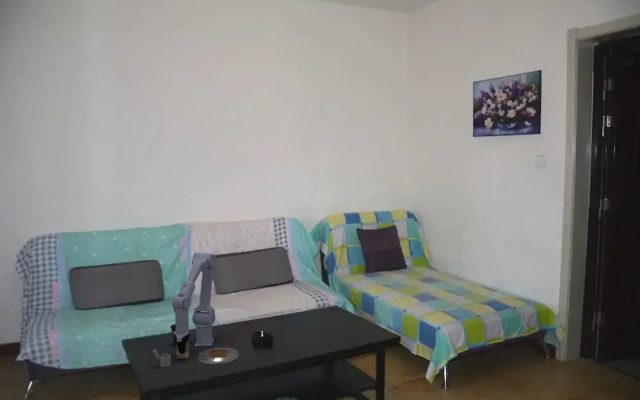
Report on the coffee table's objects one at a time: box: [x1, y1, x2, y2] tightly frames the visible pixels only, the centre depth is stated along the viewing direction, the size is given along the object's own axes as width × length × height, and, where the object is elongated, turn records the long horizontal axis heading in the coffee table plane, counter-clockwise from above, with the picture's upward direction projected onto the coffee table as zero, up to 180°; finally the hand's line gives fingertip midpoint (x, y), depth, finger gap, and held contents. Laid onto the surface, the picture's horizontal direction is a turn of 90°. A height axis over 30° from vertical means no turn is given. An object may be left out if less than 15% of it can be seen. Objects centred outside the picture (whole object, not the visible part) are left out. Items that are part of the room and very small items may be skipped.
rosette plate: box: [197, 347, 240, 366], centre depth 230 cm, size 18×18×2 cm
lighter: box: [152, 348, 172, 368], centre depth 220 cm, size 7×2×8 cm, turn 117°
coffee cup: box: [169, 323, 177, 347], centre depth 246 cm, size 8×8×10 cm
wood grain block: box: [175, 340, 190, 359], centre depth 230 cm, size 3×5×7 cm, turn 94°
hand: (182, 351), depth 230 cm, fingers closed on wood grain block, 3 cm apart
